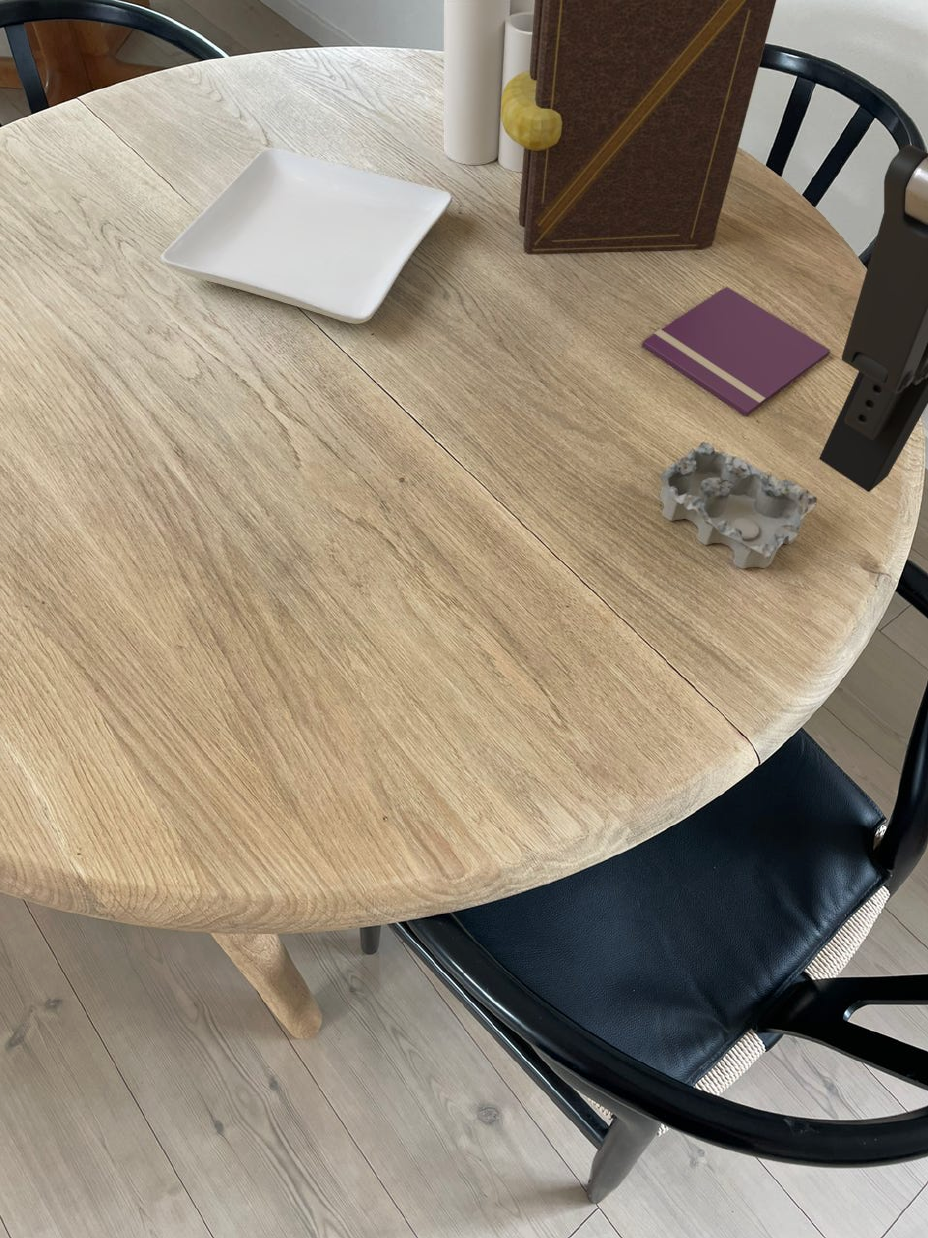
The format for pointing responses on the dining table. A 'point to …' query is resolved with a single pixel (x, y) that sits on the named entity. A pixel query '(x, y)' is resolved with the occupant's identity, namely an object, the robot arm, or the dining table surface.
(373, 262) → the plate
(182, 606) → the dining table surface
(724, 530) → the egg carton
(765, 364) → the tea towel
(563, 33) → the book
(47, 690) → the dining table surface
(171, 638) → the dining table surface
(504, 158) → the vase
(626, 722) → the dining table surface
